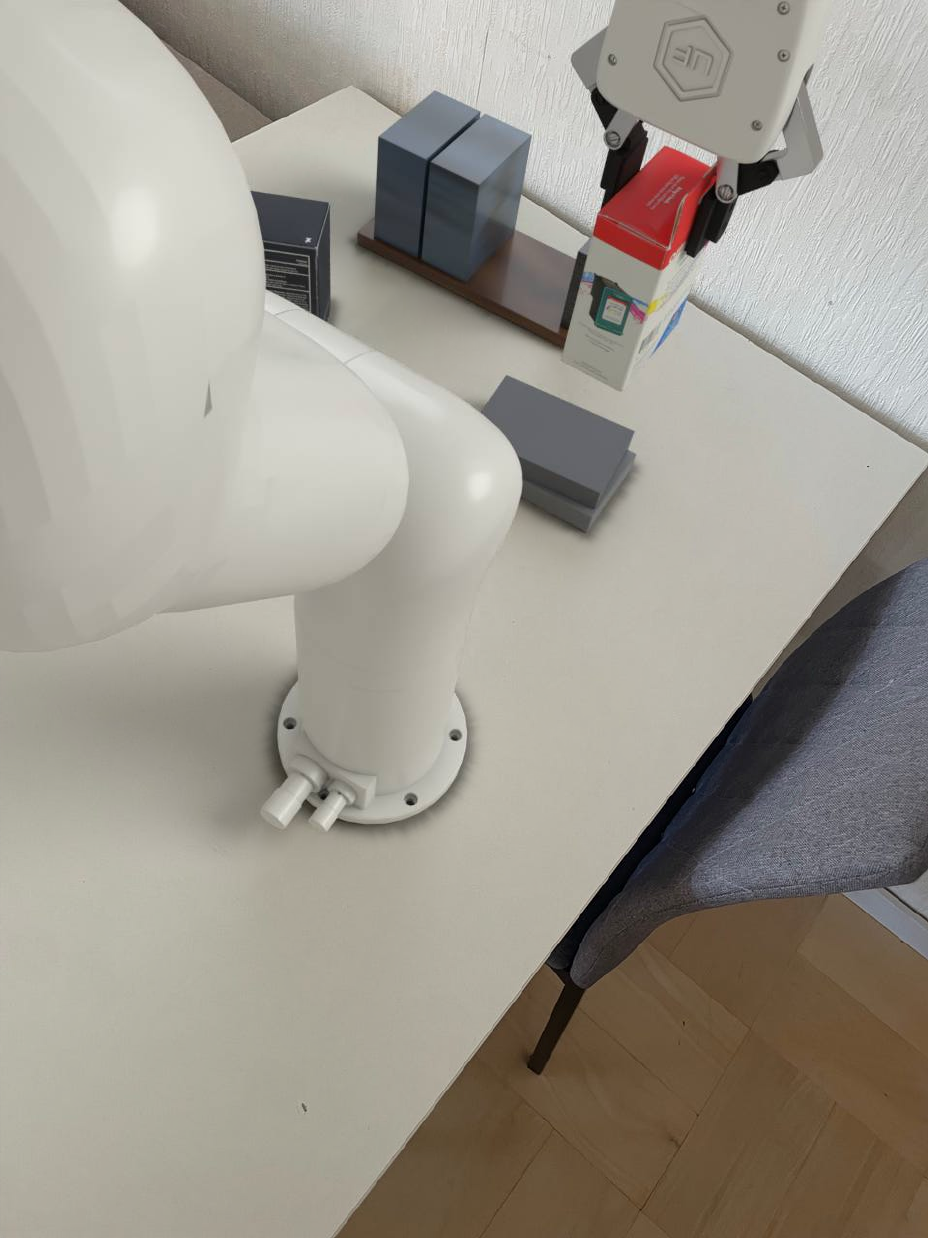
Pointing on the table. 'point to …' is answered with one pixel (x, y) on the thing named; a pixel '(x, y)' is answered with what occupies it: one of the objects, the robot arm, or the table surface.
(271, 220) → the small box
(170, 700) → the table surface
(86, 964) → the table surface
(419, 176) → the book rack
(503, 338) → the table surface
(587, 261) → the ink box
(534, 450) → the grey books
